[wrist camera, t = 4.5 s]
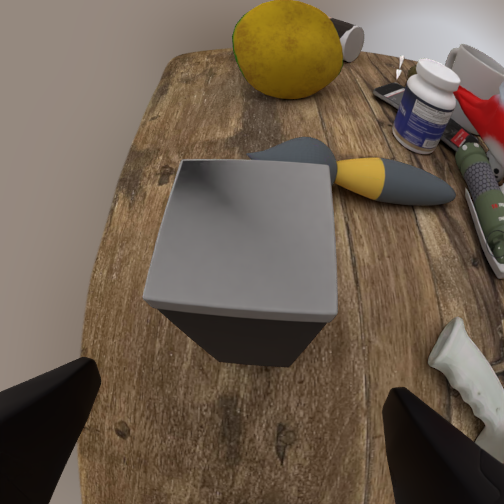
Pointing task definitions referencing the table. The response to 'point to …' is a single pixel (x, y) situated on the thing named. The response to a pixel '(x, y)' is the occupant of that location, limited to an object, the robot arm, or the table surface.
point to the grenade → (484, 202)
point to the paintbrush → (365, 174)
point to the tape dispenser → (472, 383)
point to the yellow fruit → (287, 49)
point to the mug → (474, 78)
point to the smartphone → (453, 131)
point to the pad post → (247, 258)
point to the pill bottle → (426, 106)
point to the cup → (349, 39)
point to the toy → (487, 124)
